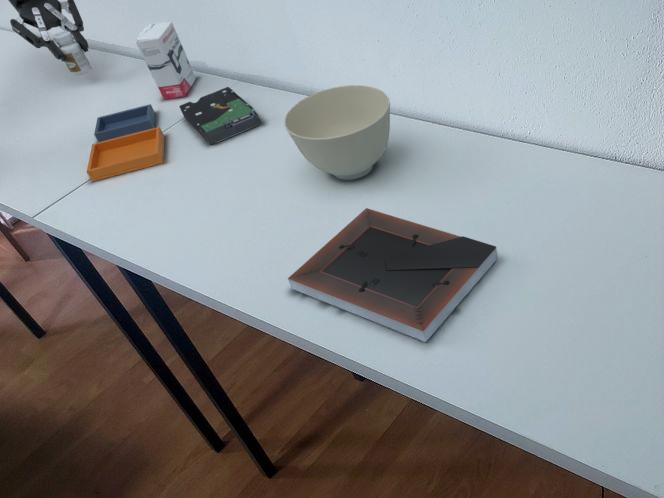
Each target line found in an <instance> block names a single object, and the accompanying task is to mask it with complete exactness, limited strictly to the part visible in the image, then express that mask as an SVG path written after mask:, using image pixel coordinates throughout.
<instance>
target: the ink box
mask: <svg viewBox="0 0 664 498" xmlns="http://www.w3.org/2000/svg"><path fill="white" fill-rule="evenodd" d="M135 44H136V46H137V48H138V50H139V52H140V54H141V56H142V58H143V60H144V61H145V64H146V66H147V68H148V70H149V72H150V74H151V76H152V78H153V80H154V82H155V84H156V86H157V88H158V90H159V93H160V94H161V96H162V98H163V100H170V99H177V98H184V97H187V95H188V93H189V91H190V90H191V87H192V86H193V85H194V83H195V81H196V79H197V77H196V75H195V73H194V69H193V67H192V65H191V63H190V60H189V58H188V56H187V53H186V51H185V49H184V46H183V44H182V42H181V40H180V38H179V35H178V33H177V31H176V28H175V26H174V23H173V22H172V21H165V22H151V23H148V24H147V25H146V26H145V27H144V28H143V30H141V32H140V33H139V35H138V36H137V38H136V40H135Z"/></svg>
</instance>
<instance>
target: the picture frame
mask: <svg viewBox="0 0 664 498" xmlns="http://www.w3.org/2000/svg"><path fill="white" fill-rule="evenodd" d="M497 260H498V250H497V246H496V245H493V244H489V243H486V242H483V241H479V240H477V239H473V238H470V237H467V236H460V235H456V234H454V233H450V232H448V231H447V232H446V231H444V230H441V229H437V228H434V227H430V226H427V225H424V224H420V223H417V222H414V221H410V220H407V219H404V218H400V217H397V216H393V215H390V214H387V213H384V212H382V211H381V212H380V211H377V210H374V209H370V208H368V207H366V208H365V209H364V210H362V211H361V212H360V213H359V214H358V215H357V216H356V217H354V218H353V219H352V221H350V222H349V223H348V224H347V225H346V226H344V228H342V229H341V230H340V231H339V232H338V233H337V234H336V235H335V236H333V237H332V238H331V239H330V240H329V241H328V242H327V243H325V244H324V245H323V246H322V247H321V248H320V249H319V250H318V251H317V252H316V253H314V254H313V255H312V256H311V257H309V259H308V260H307V261H305V263H303V264H302V265H301V266H300V267H299V268H298V269H296V270H295V271H294V272H293V273H292V274H290V276H289V277H287V281H288V283H289V285H290V287H291V289H292V290H294V291H295V292H298V293H301V294H303V295H306V296H309V297H311V298H314V299H316V300H318V301H321V302H324V303H326V304H329V305H331V306H334V307H336V308H339V309H341V310H344V311H346V312H349V313H351V314H354V315H356V316H359V317H362V318H364V319H366V320H369V321H372V322H374V323H376V324H380V325H381V326H384V327H387V328H389V329H392V330H394V331H396V332H399V333H402V334H404V335H406V336H408V337H409V336H410V337H412V338H414V339H417V340H420V341H422V342H424V343H427V341H428V340H429V339H430V338H431V337H432V335H433V334H434V333H435V332H436V331H437V329H438V328H439V327H440V326H441V325H442V324H443V323H444V321H445V320H446V319H447V318H448V317H449V316H450V315H451V313H452V312H454V310H455V309H456V307H457V306H459V304H460V303H461V302H462V300H464V298H465V297H466V296H467V295H468V294H469V292H470V291H471V290H472V289H473V288H474V287H475V285H477V283H478V282H479V281H480V279H482V277H484V275H485V273H487V272H488V270H489V269H490V268H491V267H492V266H493V265H494V263H495V262H496V261H497Z"/></svg>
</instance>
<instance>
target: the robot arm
mask: <svg viewBox="0 0 664 498" xmlns="http://www.w3.org/2000/svg"><path fill="white" fill-rule="evenodd" d="M7 1H8V2H9V3H10V5H11V6H12V7H13V8H14V10H16V12H17V13H18V18H16V19H15V18H11V19H10V21H9V22H10V25H11V28H12V31H13V32H14V33H16V34H17V35H18V36H19V37H21V38H23V39H24V40H25V41H26V42H28V43H29V44H30V45H32V46H33V47H34V48H36V49H41V48H42V47H43V48H46V49H48V50H49V52H50V53H51V54H52V55H53V57H54V58H55V59H56V60H58V61H59V60H60V61H61V62H64V61H65V60H66V58H65V55H64V54H63V52H62V51H61V50H60V49H59V45H58V44H57V43H56V42H55V40H54V39H51V37H50V34H49V32H48V31H51V30H52V29H53V28H60V29H61V30H62V31H63V32H65V31H69V32H70V33H71V35H72V36H73V39H74V40H73V41H75V42H77V43H79V45H80V46H81V48H82V50H83V52H84V53H88V52H89V42H88V40H87V39H86V38H85V37H84V35H83V34H82V32H84V31H85V27H84V21H83V19H82V16H81V14H80V11H79V9H78V7H77V4H76V3H75V0H67V1H66V0H65V1H59V0H7ZM63 10H65V11H66V13H67V14H69V15H71V17H72V19H73V22H74V23H73V22H71V20H69V19H68V18H67V16H65V15H64V14H63ZM26 25H28V26H31V27H34V28H35V29H37V30H38V33H39V35H40V36H37V35H36V34H35V33H33V32H32V31H31V30H30V29H28V28H27V26H26Z"/></svg>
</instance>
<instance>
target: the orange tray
mask: <svg viewBox="0 0 664 498" xmlns="http://www.w3.org/2000/svg"><path fill="white" fill-rule="evenodd" d="M88 157H89V158H88V162H87V168H86V174H87V175H88V177H89V178H90V180H91V181H92V182H97V181H100V180H105V179H108V178H112V177H116V176H120V175H123V174H124V175H125V174H127V173H131V172H134V171H139V170H142V169H146V168H151V167H154V166H157V165H158V166H159V165H161V164H164V161H165V159H164V158H165V135H164V132H163V130H162V129H161V126H158V127H154V128H153V129H149V130H145V131H141V132H137V133H133V134H129V135H125V136H121V137H118V138H114V139H110V140H106V141H102V142H98V141H97V142H95V143H92V144H91V148H90V151H89V156H88Z"/></svg>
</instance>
